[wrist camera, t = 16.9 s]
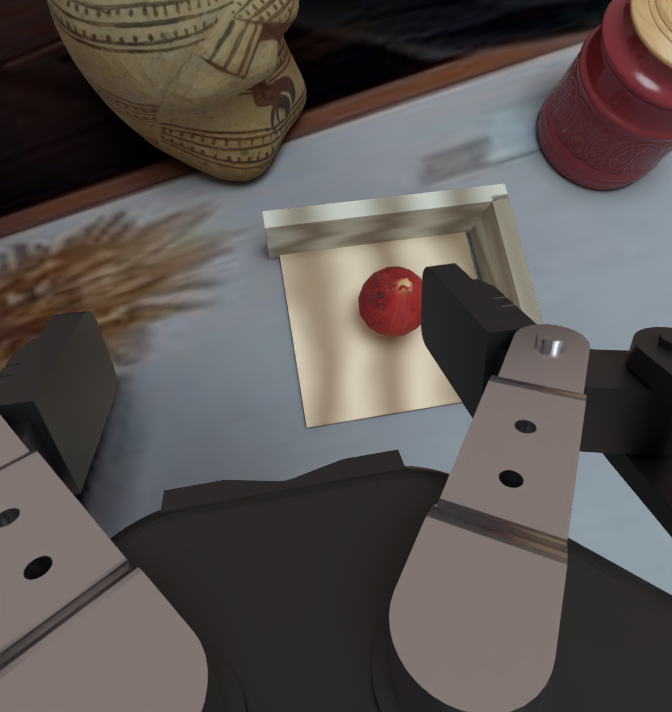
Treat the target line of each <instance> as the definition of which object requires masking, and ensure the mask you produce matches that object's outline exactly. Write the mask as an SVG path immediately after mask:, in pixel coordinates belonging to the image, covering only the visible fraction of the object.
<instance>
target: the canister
mask: <svg viewBox="0 0 672 712" xmlns="http://www.w3.org/2000/svg"><path fill="white" fill-rule="evenodd" d="M537 133H538V139H539V143H540V146H541V149H542V151H543V153H544V155H545V156H546V158H547V159H548V161H549V162H550V163H551V165H552V166H553V167H554V168H555V169H556V170H557V171H558V172H559V173H561V174H562V175H563V176H564V177H566V178H567V179H569V180H571V181H572V182H574V183H576V184H579V185H581V186H584V187H587V188H591V189H597V190H612V189H618V188H621V187H624V186H627V185H629V184H631V183H632V182H634V181H637V180H639V179H640V178H642V177H644V176H645V175H646V174H648V173H649V172H650V171H651V170H653V169H654V168H655V167H656V166H657V165H658V164H659V163H660V161H661V160H662V159H663V158H664V157H665V156H666V155H667V154H669V153H670V152H671V151H672V0H612V1H611V2H610V4H609V5H608V7H607V9H606V11H605V13H604V16H603V19H602V24H601V25H599V26H598V27H597V28H595V29H594V30H593V31H592V32H591V33H590V35H589V36H588V37H587V39H586V40H585V42H584V44H583V46H582V48H581V51H580V52H579V54H578V55H577V57H576V58H575V60H574V61H573V62H572V64H571V65H570V67H569V68H568V70H567V71H566V73H565V74H564V76H563V77H562V79H561V80H560V81H559V82H558V83H557V84H556V85H555V86H554V87H553V89H552V90H551V92H550V93H549V95H548V96H547V98H546V100H545V102H544V104H543V107H542V110H541V113H540V115H539V119H538V125H537Z"/></svg>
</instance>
